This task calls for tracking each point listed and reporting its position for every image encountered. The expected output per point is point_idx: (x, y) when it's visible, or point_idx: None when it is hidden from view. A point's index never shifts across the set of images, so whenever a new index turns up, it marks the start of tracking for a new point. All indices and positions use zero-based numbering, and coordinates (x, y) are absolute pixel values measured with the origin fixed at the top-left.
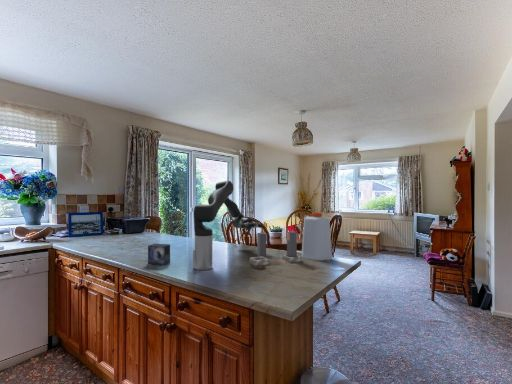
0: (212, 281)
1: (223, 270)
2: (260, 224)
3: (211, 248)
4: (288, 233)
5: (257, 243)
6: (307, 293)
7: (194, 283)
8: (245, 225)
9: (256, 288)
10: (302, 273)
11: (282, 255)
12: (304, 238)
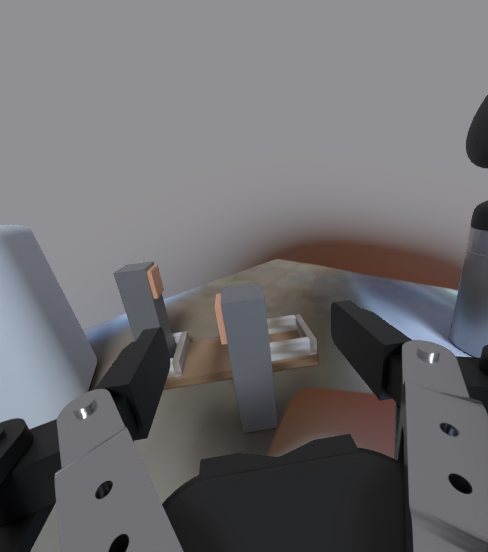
0: (385, 287)
1: (394, 326)
2: (152, 333)
3: (461, 275)
4: (156, 266)
5: (270, 352)
6: (245, 272)
7: (416, 283)
8: (402, 334)
9: (303, 276)
10: (205, 309)
11: (179, 362)
12: (50, 322)
